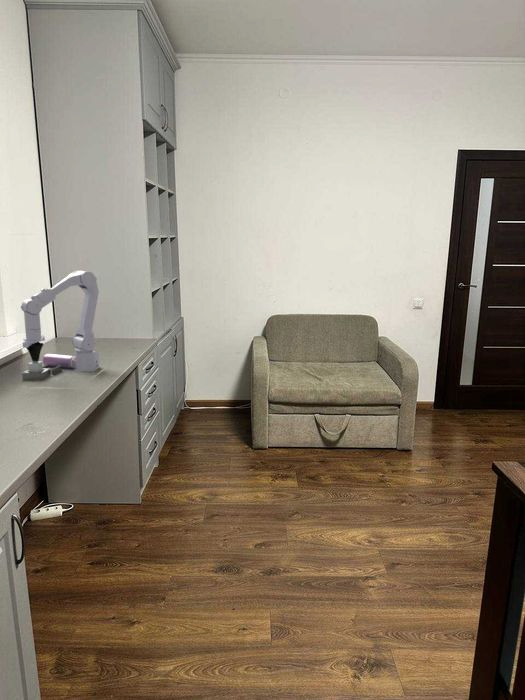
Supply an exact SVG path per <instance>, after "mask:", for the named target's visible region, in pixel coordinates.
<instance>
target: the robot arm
mask: <svg viewBox="0 0 525 700" xmlns="http://www.w3.org/2000/svg"><path fill="white" fill-rule="evenodd" d="M97 280H98V278H97V277H96V276H95V274H94V273H93V272H91V271H87V270H85V271H84V270H79V269H78V270H74V271H73V272H71V273H69V274H68V275H67V276H66V277H64V278H63V279H62V280H60V281H59V282H58V283H56V284H55V285H54V286H52V287H51V288H47V287H46V288H41V289H40V291H39V292H38V293H36V294H35V295H31V296H30V298H26V299H25V300H23V301H22V303H21V305H20V309H21V311H23V316H24V317H23V318H24V328H25V338H23V342H22V348H26V349H27V351H28V353H29V356H30V358H31V362H32V361H40V355H41V351H42V349H43V346H44V341H45V340H46V338H45V335H42V329H41V328H42V327H41V317H40V316H41V315H40V313H41V312H42V309H43V308H45V307H46V306H48V305H50V304H51V303H52V302H53V301H55V300H56V297H57V296H58V294H60V293H63V291H66V290H67V289H69V288H71V287H74V286H76V287H77V286H78V287H79V288H81V290H82V291H83V292H84V299H83V305H82V310H81V315H80V321H79V327H78V329H77V330H76V331H75V332H74V333H75V334H74V336H73V338H72V339H71V345H72V346H73V347H74V356H75V357H76V368H74V369H73V372H74V371H75V372H95V371H96V370H97V369H99V368H100V358H99V352H98V351H97V350H93V349H94V348H95V344H96V342H95V334H94V332H93V325H94V320H95V315H96V309H97V305H98V304H97V303H98V297H99V292H100V291H99V287H98V283H97Z"/></svg>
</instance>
